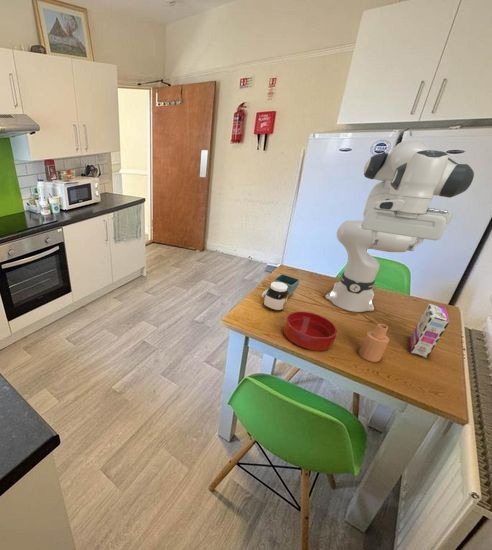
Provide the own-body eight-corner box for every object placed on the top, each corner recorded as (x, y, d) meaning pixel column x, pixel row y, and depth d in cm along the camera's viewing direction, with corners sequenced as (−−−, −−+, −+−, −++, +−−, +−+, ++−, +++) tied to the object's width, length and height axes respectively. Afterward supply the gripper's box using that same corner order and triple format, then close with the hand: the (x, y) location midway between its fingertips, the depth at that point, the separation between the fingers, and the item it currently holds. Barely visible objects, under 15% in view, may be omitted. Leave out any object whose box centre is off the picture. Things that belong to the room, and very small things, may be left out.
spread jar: (276, 314, 132) (281, 292, 127) (253, 303, 140) (257, 282, 135) (289, 305, 138) (295, 283, 133) (267, 295, 147) (272, 274, 141)
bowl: (289, 319, 129) (292, 306, 126) (335, 334, 119) (340, 321, 116) (277, 339, 117) (281, 326, 114) (328, 358, 108) (333, 344, 105)
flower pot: (278, 289, 152) (281, 273, 148) (296, 295, 146) (300, 279, 142) (270, 295, 147) (273, 279, 143) (288, 302, 141) (292, 285, 137)
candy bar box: (428, 359, 106) (450, 322, 98) (410, 353, 109) (430, 316, 101) (426, 342, 113) (447, 307, 106) (409, 337, 116) (428, 302, 109)
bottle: (359, 347, 112) (372, 318, 106) (380, 354, 109) (394, 325, 102) (358, 356, 108) (371, 327, 102) (379, 364, 104) (394, 334, 98)
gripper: (452, 209, 91) (431, 252, 96) (369, 200, 101) (355, 239, 107) (457, 212, 86) (435, 257, 91) (370, 202, 96) (355, 242, 102)
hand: (391, 247), depth 99 cm, fingers open, 8 cm apart
